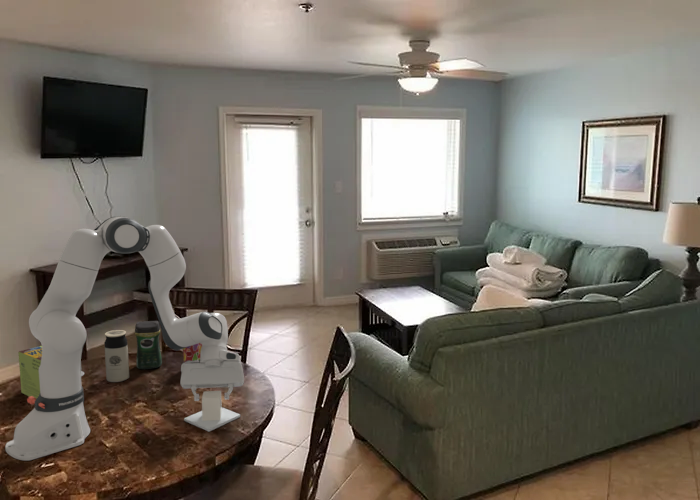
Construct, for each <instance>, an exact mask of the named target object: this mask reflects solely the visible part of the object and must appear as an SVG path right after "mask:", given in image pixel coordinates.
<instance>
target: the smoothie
mask: <svg viewBox="0 0 700 500" xmlns="http://www.w3.org/2000/svg"><path fill="white" fill-rule="evenodd" d="M201 348H202V344H200V343H198V344H195V345H191V346H188V347H186V348H184V349H182V357H183V363H184V362H186V361H188V360H190V361H193V360H200V353H201ZM185 364H186V363H185Z"/></svg>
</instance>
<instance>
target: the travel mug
mask: <svg viewBox="0 0 700 500" xmlns="http://www.w3.org/2000/svg"><path fill="white" fill-rule="evenodd" d="M126 334H127V331H126V330H123V329H116V330H110V331H109V330H108V331H107V332H105V333H104V336H105V339H104V358H105V359H104V360H105V373H106V374H105V378H106V381H108V382H110V383H119V382H123V381H126V380H127V379H129V378H130V364H129V349H128V347H129V345H128V339H127V337H126Z"/></svg>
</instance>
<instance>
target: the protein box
mask: <svg viewBox="0 0 700 500" xmlns="http://www.w3.org/2000/svg"><path fill="white" fill-rule="evenodd" d="M41 359H42V345H40V346H35V347H30V348H27V349H23V350H19V351H18V363H19V364H18V365H19V378H20V390H21V391H20V392H21V394H24V395H25V396H27V397H28V398H29V397H30V396H33V397H34V398H36V399H37V398H38V396H39V394H40V382H39V367H40V365H41Z"/></svg>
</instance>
